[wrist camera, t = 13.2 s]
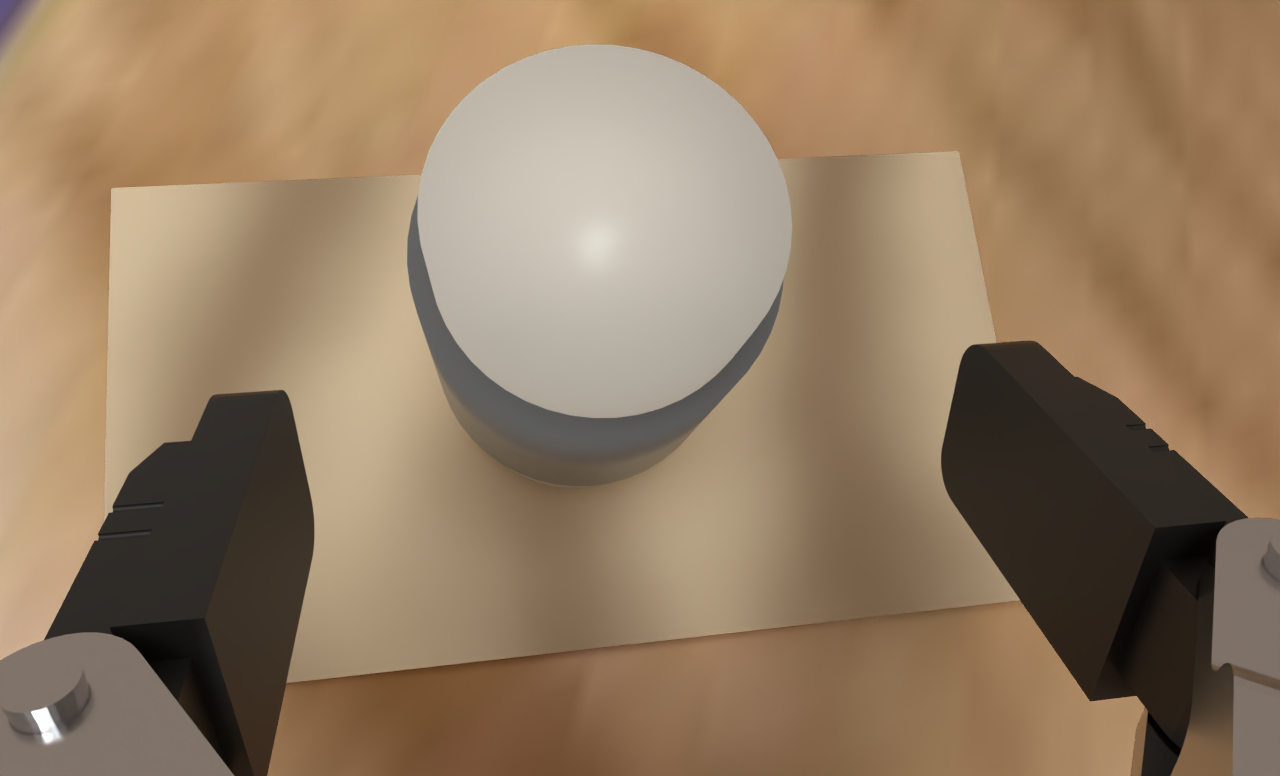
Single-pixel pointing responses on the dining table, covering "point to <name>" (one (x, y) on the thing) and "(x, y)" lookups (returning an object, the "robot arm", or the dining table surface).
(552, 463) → the grey banded cylinder
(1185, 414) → the dining table surface
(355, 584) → the oak board
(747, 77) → the dining table surface
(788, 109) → the dining table surface
